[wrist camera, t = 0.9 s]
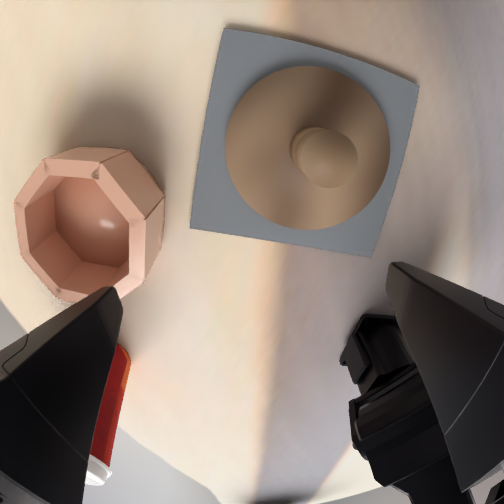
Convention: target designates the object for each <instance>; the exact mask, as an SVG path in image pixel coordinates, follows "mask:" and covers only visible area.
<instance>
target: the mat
mask: <svg viewBox="0 0 504 504" xmlns="http://www.w3.org/2000/svg"><path fill="white" fill-rule="evenodd" d="M296 66H317V67H323V68H328V69H331V70H334V71H337V72H339V73H342V74H344V75H346V76H347V77H349V78H351V79H353V80H354V81H355V82H357V83H358V84H359V85H361V86H362V87H363V88H364V89H365V90H366V91H367V92H368V93H369V94H370V95H371V97H372V98H373V99H374V100H375V102H376V103H377V105H378V107H379V108H380V110H381V112H382V114H383V116H384V119H385V121H386V125H387V128H388V132H389V138H390V159H389V165H388V169H387V173H386V176H385V178H384V181H383V183H382V185H381V187H380V189H379V190H378V192H377V194H376V195H375V197H374V198H373V199H372V200H371V201H370V203H369V204H368V205H367V206H366V207H365V208H364V209H363V210H361V211H360V212H359V213H358V214H356V215H355V216H353V217H352V218H350V219H348V220H346V221H345V222H343V223H340V224H338V225H335V226H332V227H328V228H324V229H317V230H300V229H292V228H288V227H284V226H281V225H279V224H276V223H273V222H271V221H270V220H268V219H266V218H264V217H263V216H261V215H260V214H258V213H257V212H256V211H254V210H253V209H252V208H251V207H250V206H249V205H248V204H247V203H246V202H245V200H244V199H243V198H242V197H241V196H240V194H239V192H238V191H237V189H236V188H235V186H234V184H233V182H232V179H231V177H230V174H229V171H228V168H227V163H226V157H225V138H226V131H227V127H228V123H229V120H230V118H231V115H232V113H233V111H234V109H235V107H236V106H237V104H238V102H239V101H240V99H241V98H242V97H243V96H244V94H245V93H246V92H247V91H248V90H249V89H250V88H251V87H252V86H253V85H254V84H256V83H257V82H258V81H260V80H261V79H263V78H264V77H266V76H268V75H270V74H272V73H274V72H277V71H280V70H282V69H285V68H291V67H296ZM419 87H420V86H419V85H417V84H415V83H412V82H410V81H408V80H406V79H404V78H402V77H399V76H397V75H395V74H393V73H390V72H388V71H385V70H383V69H381V68H378V67H376V66H373V65H370V64H368V63H365V62H362V61H360V60H357V59H354V58H351V57H348V56H345V55H342V54H339V53H336V52H333V51H330V50H326V49H323V48H319V47H316V46H312V45H309V44H305V43H301V42H297V41H293V40H288V39H284V38H279V37H275V36H270V35H264V34H259V33H253V32H247V31H241V30H234V29H226V28H224V30H223V34H222V38H221V43H220V47H219V52H218V56H217V61H216V66H215V70H214V75H213V80H212V85H211V90H210V96H209V101H208V106H207V112H206V117H205V123H204V129H203V135H202V141H201V147H200V154H199V160H198V167H197V174H196V181H195V188H194V196H193V204H192V212H191V220H190V228H191V229H198V230H204V231H211V232H217V233H224V234H230V235H236V236H243V237H249V238H255V239H261V240H268V241H274V242H280V243H286V244H292V245H298V246H304V247H310V248H316V249H322V250H328V251H334V252H340V253H346V254H351V255H357V256H363V257H369V258H371V256H372V254H373V251H374V248H375V246H376V243H377V240H378V237H379V235H380V232H381V229H382V226H383V223H384V220H385V217H386V214H387V211H388V208H389V205H390V202H391V199H392V196H393V192H394V189H395V186H396V182H397V179H398V176H399V172H400V169H401V165H402V161H403V158H404V154H405V150H406V146H407V142H408V138H409V134H410V130H411V126H412V121H413V117H414V112H415V107H416V103H417V98H418V92H419Z"/></svg>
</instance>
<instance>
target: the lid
mask: <svg viewBox="0 0 504 504" xmlns="http://www.w3.org/2000/svg"><path fill="white" fill-rule="evenodd" d="M225 157H226V163H227V168H228V171H229V174H230V177H231V179H232V182H233V184H234V186H235V188H236V189H237V191H238V192H239V194H240V196H241V197H242V198H243V199H244V200H245V202H246V203H247V204H248V205H249V206H250V207H251V208H252V209H253V210H254V211H256V212H257V213H258V214H260V215H261V216H263V217H264V218H266V219H268V220H270V221H271V222H273V223H276V224H279V225H281V226H284V227H288V228H292V229H300V230H317V229H324V228H328V227H332V226H335V225H338V224H340V223H343V222H345V221H346V220H348V219H350V218H352V217H353V216H355V215H356V214H358V213H359V212H360V211H361V210H363V209H364V208H365V207H366V206H367V205H368V204H369V203H370V201H371V200H372V199H373V198H374V197H375V195H376V194H377V192H378V190H379V189H380V187H381V185H382V183H383V181H384V178H385V176H386V173H387V169H388V165H389V159H390V138H389V132H388V128H387V125H386V121H385V119H384V116H383V114H382V112H381V110H380V108H379V107H378V105H377V103H376V102H375V100H374V99H373V98H372V97H371V95H370V94H369V93H368V92H367V91H366V90H365V89H364V88H363V87H362V86H361V85H359V84H358V83H357V82H355V81H354V80H353V79H351V78H349V77H347V76H346V75H344V74H342V73H339V72H337V71H334V70H331V69H328V68H323V67H317V66H296V67H291V68H285V69H282V70H280V71H277V72H274V73H272V74H270V75H268V76H266V77H264V78H263V79H261V80H260V81H258V82H257V83H256V84H254V85H253V86H252V87H251V88H250V89H249V90H248V91H247V92H246V93H245V94H244V96H243V97H242V98H241V99H240V101H239V102H238V104H237V106H236V107H235V109H234V111H233V113H232V115H231V118H230V120H229V123H228V127H227V131H226V138H225Z"/></svg>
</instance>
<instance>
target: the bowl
mask: <svg viewBox="0 0 504 504" xmlns="http://www.w3.org/2000/svg"><path fill="white" fill-rule="evenodd" d="M163 196H164V194H163V193H162V192H161V190H160V189H159V188H158V186H157V184H156V182H155V180H154V178H153V177H152V175H151V174H150V172H149V171H148V170H147V169H146V168H145V167H144V165H143V164H141V163H140V162H139V161H138V160H137V159H136V158H135V157H134V156H133V155H132V153H131V152H130V151H128V150H122V149H114V148H108V147H96V148H93V147H77V148H74V149H71V150H68V151H65V152H62V153H59V154H56V155H53V156H50V157H48V158H45V159H43V160H42V161H41V163H40V164H39V165H38V167H37V168H36V169H35V171H34V172H33V174H32V175H31V176H30V178H29V179H28V181H27V182H26V183H25V185H24V186H23V188H22V189H21V191H20V192H19V194H18V195H17V197H16V198H15V200H14V201H15V202H14V209H15V219H16V227H17V235H18V241H19V248H20V254H21V256H22V258H23V259H24V261H25V262H26V263H27V264H28V266H29V267H30V268H31V269H32V270H33V272H34V273H35V274H36V275H37V276H38V277H39V279H40V280H41V281H42V282H43V283H44V284H45V285H46V287H47V288H48V289H49V290H50V291H51V292H52V293H53V294H54V295H55V297H58V299H62V300H66V301H70V302H74V303H77V302H78V301H80V300H82V299H83V298H85V297H87V296H88V295H90V294H92V293H93V292H95V291H97V290H98V289H100V288H102V287H104V286H114V287H115V288H116V290H117V293H118V295H119V298H120V299H121V298H123V297H124V296H125V295H127V294H128V293H130V292H131V291H132V290H134V289H135V288H137V287H138V286H139V285H141V284H142V283H144V281H145V279H146V277H147V275H148V273H149V271H150V269H151V267H152V265H153V263H154V261H155V259H156V257H157V255H158V253H159V251H160V249H161V240H162V231H163V226H164V201H165V197H163Z"/></svg>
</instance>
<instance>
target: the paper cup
mask: <svg viewBox="0 0 504 504" xmlns="http://www.w3.org/2000/svg"><path fill="white" fill-rule="evenodd" d="M130 365H131V361H130V357H129V355H128V353H127V352H126V351H125V350H124V349H123V348H122V347H121V346H120V345H119V344H117V345H116V350H115V354H114V357H113V361H112V364H111V368H110V371H109V375H108V378H107V382H106V386H105V390H104V393H103V397H102V401H101V405H100V409H99V414H98V418H97V422H96V427H95V431H94V436H93V441H92V445H91V451H90V456H89V461H87V462H88V468H87V474H86V480H85V484H90V485H97V486H99V485H103V484H104V483H105V481H106V479H107V478H108V477H110V476H111V475H112V472H111V469H110V468H109V466H110V460H111V455H112V449H113V443H114V439H115V433H116V429H117V424H118V419H119V414H120V410H121V405H122V401H123V396H124V392H125V388H126V384H127V379H128V375H129V370H130Z"/></svg>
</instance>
